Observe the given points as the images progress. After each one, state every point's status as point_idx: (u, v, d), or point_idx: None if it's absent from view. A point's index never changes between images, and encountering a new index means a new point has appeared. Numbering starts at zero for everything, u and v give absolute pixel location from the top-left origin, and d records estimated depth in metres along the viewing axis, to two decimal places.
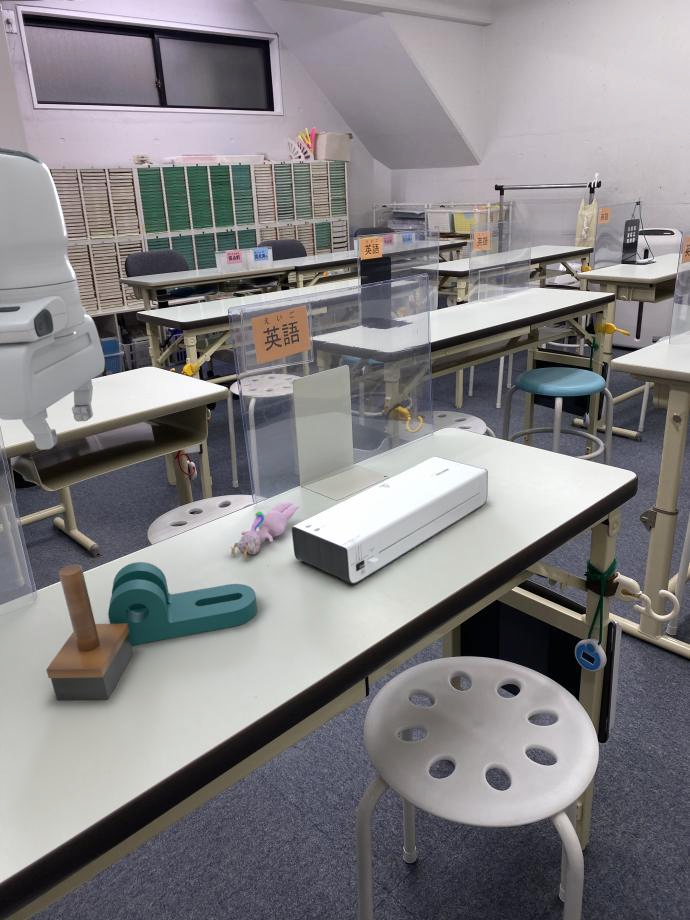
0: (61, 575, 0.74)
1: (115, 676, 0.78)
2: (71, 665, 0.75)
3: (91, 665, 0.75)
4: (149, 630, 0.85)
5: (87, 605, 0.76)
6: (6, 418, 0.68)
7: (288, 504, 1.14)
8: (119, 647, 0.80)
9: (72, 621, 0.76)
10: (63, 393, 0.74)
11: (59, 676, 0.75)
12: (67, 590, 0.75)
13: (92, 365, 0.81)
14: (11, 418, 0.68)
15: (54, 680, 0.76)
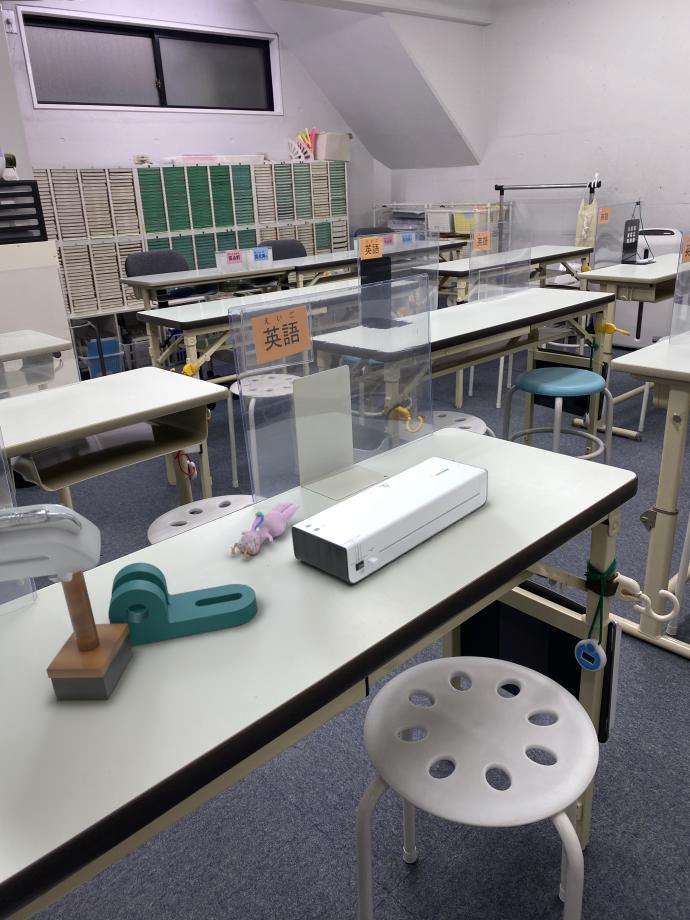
0: None
1: (115, 676, 0.78)
2: (71, 665, 0.75)
3: (91, 665, 0.75)
4: (149, 630, 0.85)
5: (87, 605, 0.76)
6: None
7: (288, 504, 1.14)
8: (119, 647, 0.80)
9: (72, 621, 0.76)
10: None
11: (59, 676, 0.75)
12: (67, 590, 0.75)
13: (46, 570, 0.57)
14: None
15: (54, 680, 0.76)
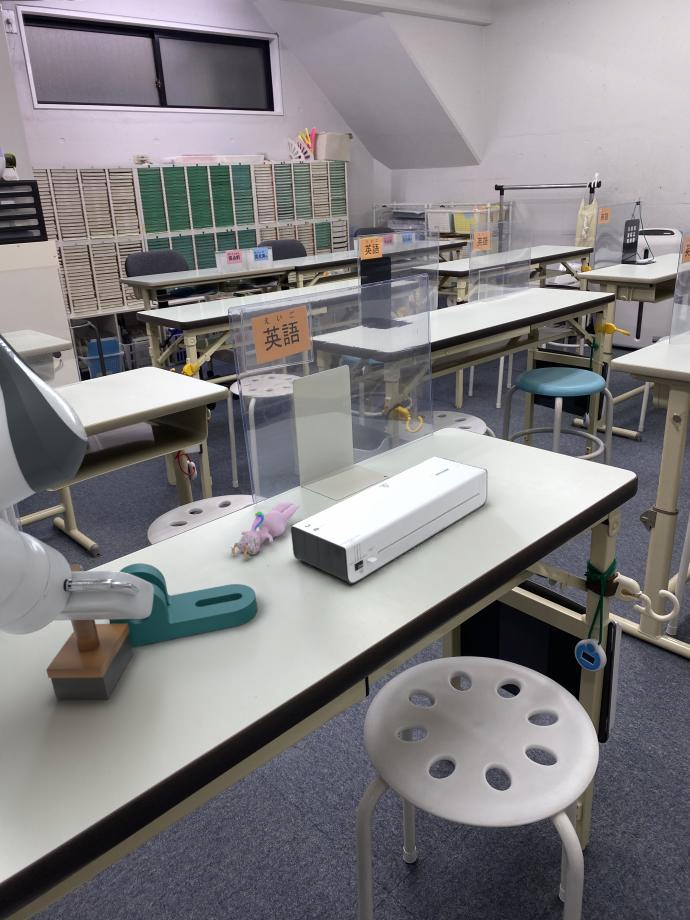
0: None
1: (115, 676, 0.78)
2: (71, 665, 0.75)
3: (91, 665, 0.75)
4: (150, 631, 0.85)
5: None
6: None
7: (288, 504, 1.14)
8: (119, 647, 0.80)
9: (72, 621, 0.76)
10: None
11: (59, 676, 0.75)
12: None
13: (109, 617, 0.71)
14: None
15: (54, 680, 0.76)
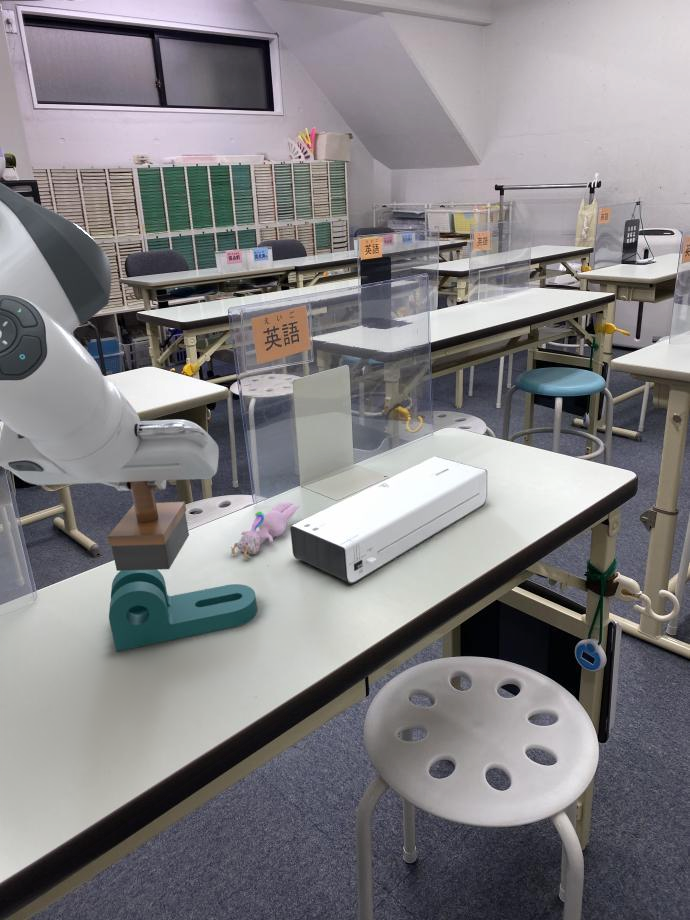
0: None
1: (175, 549, 0.77)
2: (132, 533, 0.74)
3: (153, 532, 0.74)
4: (150, 632, 0.85)
5: None
6: None
7: (288, 504, 1.14)
8: (178, 522, 0.78)
9: (132, 490, 0.75)
10: (101, 482, 0.71)
11: (120, 544, 0.74)
12: None
13: (174, 475, 0.69)
14: None
15: (115, 549, 0.74)
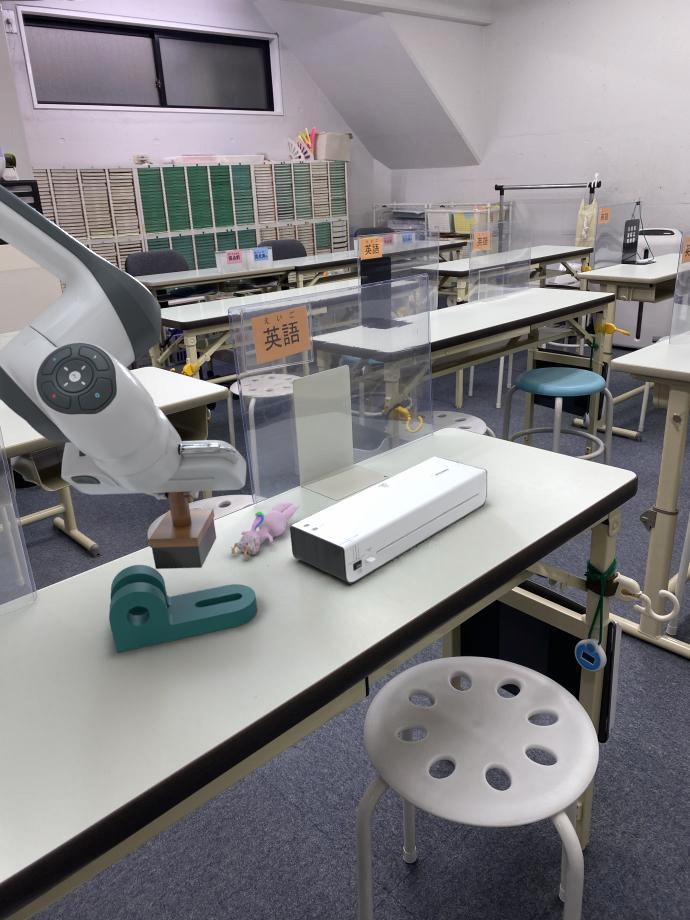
0: None
1: (205, 550, 0.89)
2: (170, 536, 0.85)
3: (188, 536, 0.85)
4: (150, 632, 0.85)
5: None
6: None
7: (288, 504, 1.14)
8: (208, 526, 0.90)
9: (170, 498, 0.86)
10: (145, 492, 0.83)
11: (160, 545, 0.85)
12: None
13: (209, 487, 0.81)
14: None
15: (155, 550, 0.86)
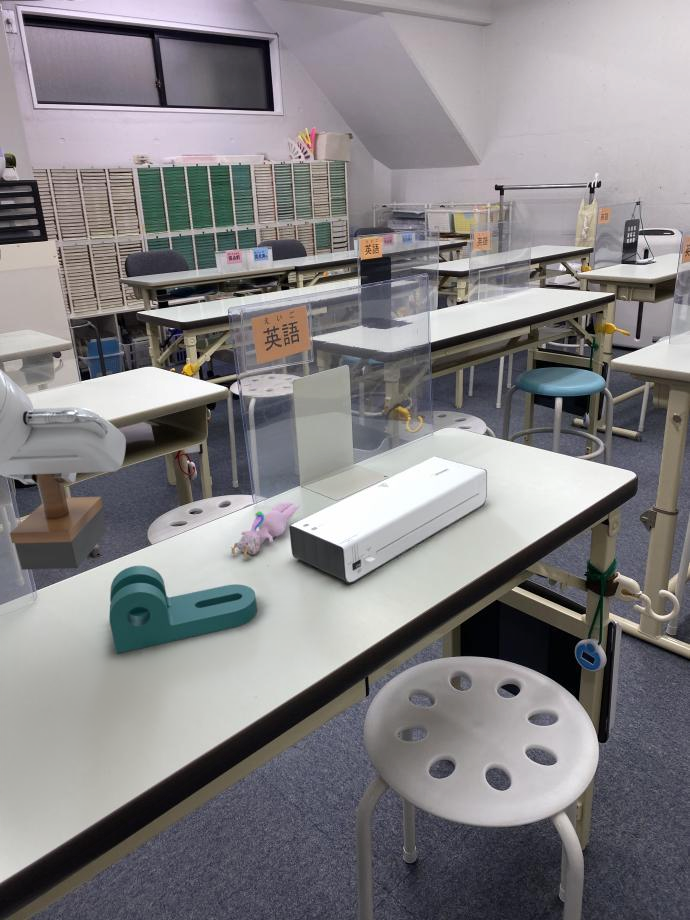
0: None
1: (86, 547, 0.72)
2: (37, 529, 0.69)
3: (58, 529, 0.69)
4: (151, 633, 0.84)
5: None
6: None
7: (288, 504, 1.14)
8: (91, 518, 0.74)
9: (39, 483, 0.70)
10: (0, 474, 0.66)
11: (24, 541, 0.69)
12: None
13: (76, 467, 0.65)
14: None
15: (18, 546, 0.70)
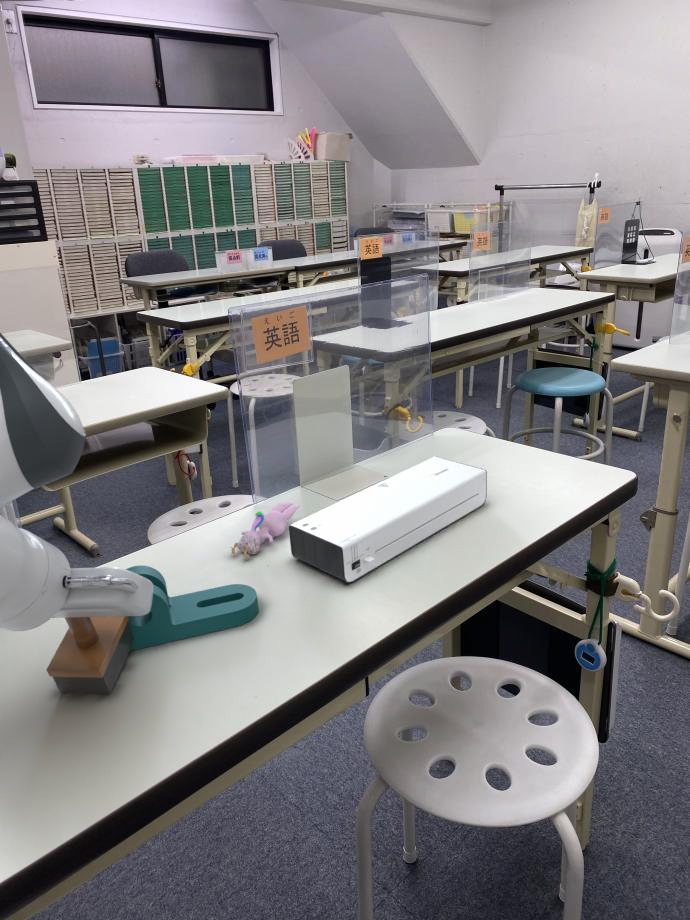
0: None
1: (116, 669, 0.79)
2: (70, 665, 0.75)
3: (90, 666, 0.75)
4: (153, 633, 0.84)
5: None
6: None
7: (288, 504, 1.14)
8: (118, 640, 0.79)
9: (67, 623, 0.75)
10: None
11: (60, 675, 0.76)
12: None
13: (108, 614, 0.71)
14: None
15: (55, 678, 0.76)
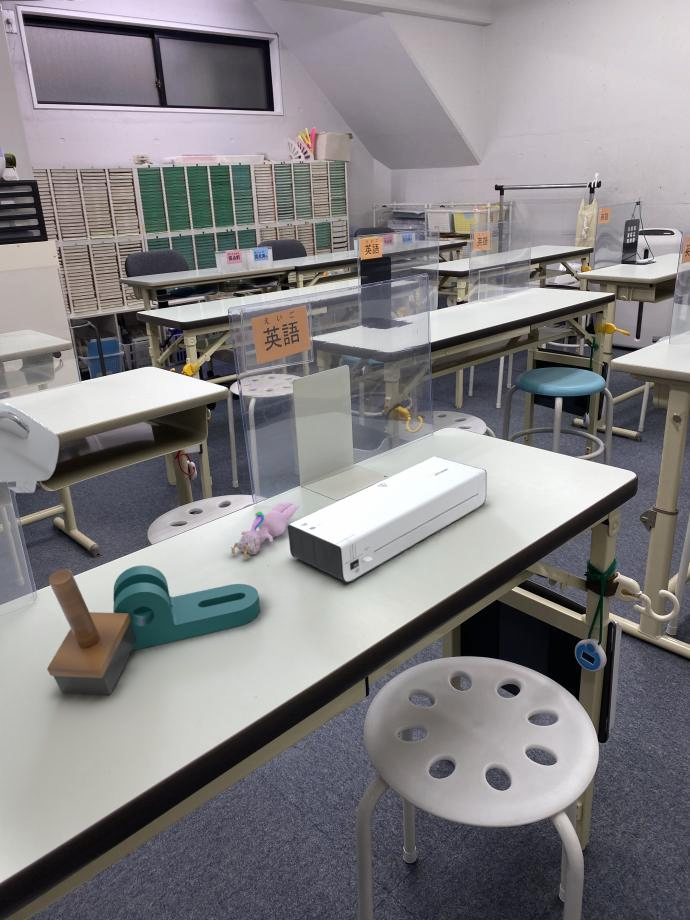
0: (51, 584, 0.72)
1: (117, 669, 0.79)
2: (71, 665, 0.75)
3: (90, 666, 0.75)
4: (155, 633, 0.84)
5: (82, 608, 0.75)
6: None
7: (288, 504, 1.14)
8: (120, 640, 0.79)
9: (68, 622, 0.75)
10: None
11: (60, 675, 0.76)
12: (59, 597, 0.73)
13: None
14: None
15: (56, 677, 0.76)
